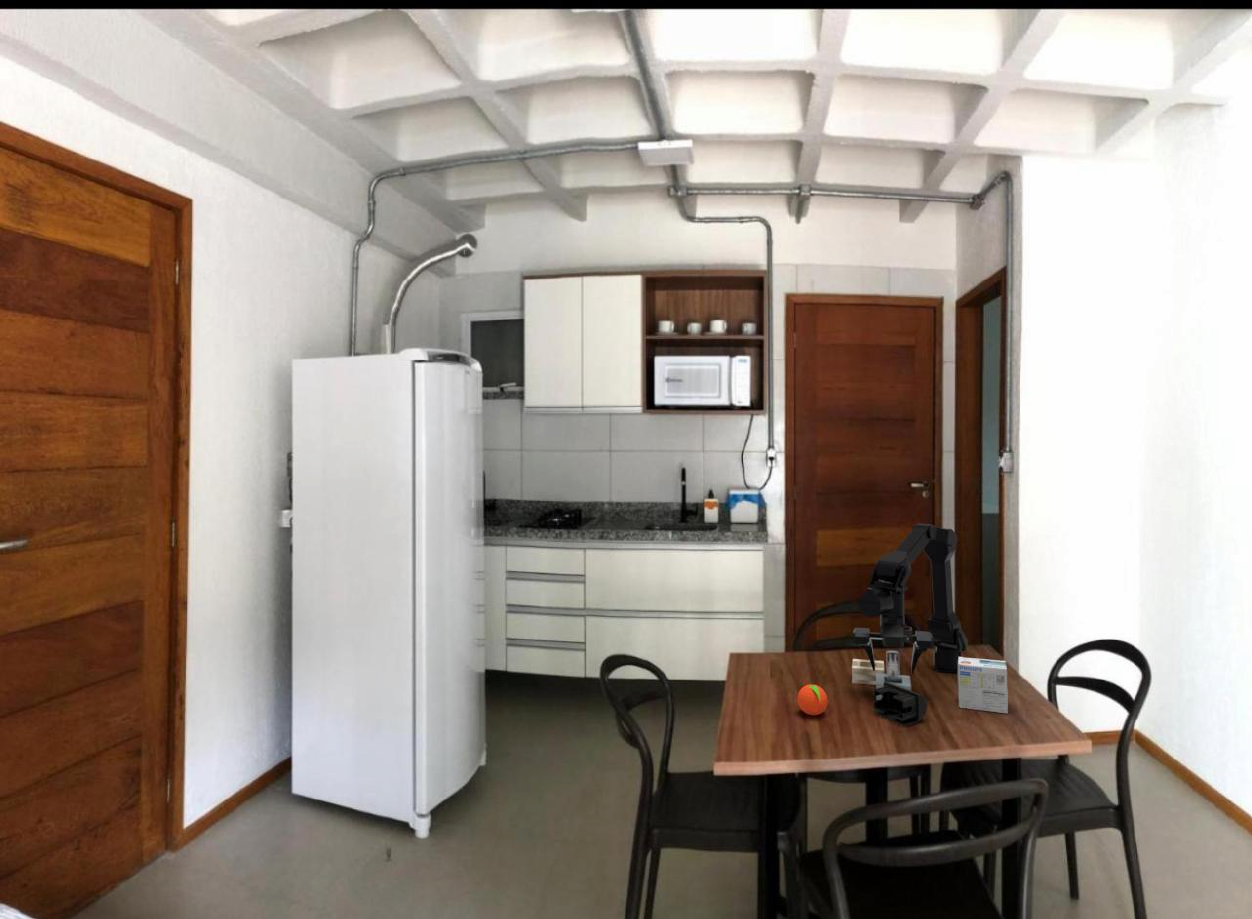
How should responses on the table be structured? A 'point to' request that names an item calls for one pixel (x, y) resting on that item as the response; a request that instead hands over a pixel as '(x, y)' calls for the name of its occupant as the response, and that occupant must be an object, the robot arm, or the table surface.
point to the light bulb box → (982, 684)
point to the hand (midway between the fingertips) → (893, 672)
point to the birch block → (866, 671)
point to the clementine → (812, 699)
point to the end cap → (899, 704)
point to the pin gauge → (893, 666)
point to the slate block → (883, 678)
